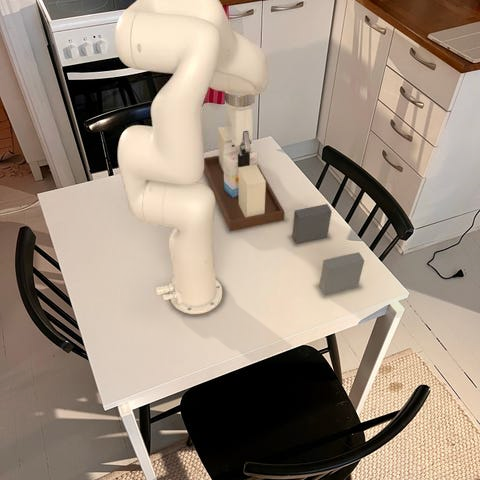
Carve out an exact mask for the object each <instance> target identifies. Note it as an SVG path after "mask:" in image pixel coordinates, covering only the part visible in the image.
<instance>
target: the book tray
mask: <svg viewBox="0 0 480 480" xmlns="http://www.w3.org/2000/svg"><path fill="white" fill-rule="evenodd" d="M257 167H258V168H259V170H260V172H261V174H262V175H263V177H264V179H265V181H266V189H265V212H264V214H261V215H256V216H251V217H246V218H245V216H244V214H243V212H242V210H241V208H240V206H239V195H238V196H236V197H232V196H231V195H230V194H228V193H227V192H226V191H225V190H224V172H223V170H222V168H221V166H220V164H219V155H213V156H208V157H207V156H206V157H204V171H203V174H204V175H205V178H206V181H207V182H208V184H209V186H210V187H209V188H210V189H211V190H212V191H213V193H214V196H215V201H216V203H217V206H218V207H219V209H220V212H221V214H222V217H223V219H224V221H225V223H226V225H227V228H228V231H229V232H231V231H237V230H242V229H247V228H252V227H256V226H262V225H267V224H272V223H277V222H281V221H284V220H285V210H284V209H283V207H282V204H281V203H280V201H279V200H278V198H277V196H276V194H275V193H274V190H273V189H272V187H271V185H270V184H269V182H268V180H267V178H266V177H265V175H264V172H263V171H262V169H261V168H260V165H259V164H258V163H257Z"/></svg>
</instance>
